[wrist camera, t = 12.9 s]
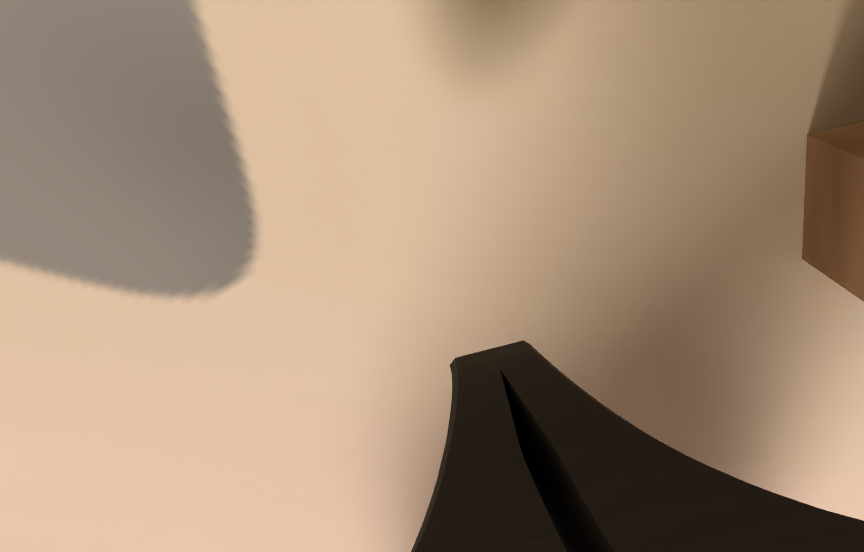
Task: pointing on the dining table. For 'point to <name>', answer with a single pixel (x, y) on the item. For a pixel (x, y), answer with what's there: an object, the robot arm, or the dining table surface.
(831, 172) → the brown rectangular block
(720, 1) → the dining table surface
